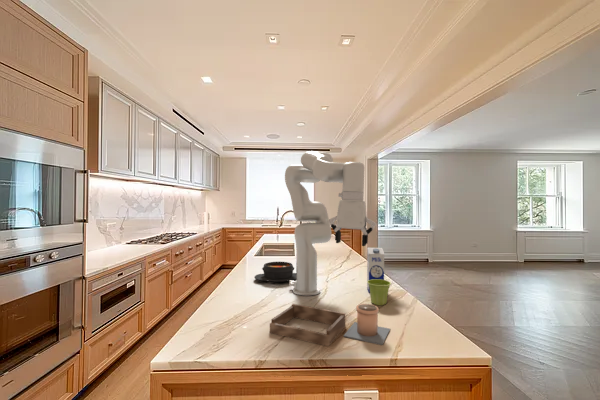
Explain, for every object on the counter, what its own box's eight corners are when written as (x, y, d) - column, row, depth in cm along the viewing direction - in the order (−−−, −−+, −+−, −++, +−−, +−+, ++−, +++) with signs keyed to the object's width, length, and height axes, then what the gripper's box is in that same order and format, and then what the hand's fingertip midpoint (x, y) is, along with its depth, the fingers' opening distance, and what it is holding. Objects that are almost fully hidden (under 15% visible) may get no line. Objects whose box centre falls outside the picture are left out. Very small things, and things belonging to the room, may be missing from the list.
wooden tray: (269, 332, 100) (269, 318, 100) (292, 315, 114) (292, 303, 114) (328, 346, 91) (328, 330, 91) (345, 326, 105) (345, 312, 105)
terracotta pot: (353, 334, 98) (353, 309, 98) (359, 325, 105) (359, 302, 105) (375, 338, 95) (376, 312, 95) (380, 329, 102) (380, 305, 102)
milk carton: (381, 289, 149) (382, 247, 149) (384, 293, 142) (384, 249, 142) (366, 288, 149) (367, 247, 149) (368, 293, 143) (368, 249, 143)
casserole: (298, 275, 176) (298, 260, 175) (304, 284, 157) (305, 267, 157) (253, 276, 171) (253, 261, 171) (254, 286, 153) (254, 269, 153)
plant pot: (391, 307, 124) (391, 286, 124) (367, 306, 125) (367, 284, 125) (389, 300, 133) (389, 279, 133) (366, 298, 135) (367, 278, 135)
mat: (343, 336, 97) (343, 335, 97) (354, 323, 108) (354, 321, 108) (382, 345, 92) (382, 343, 92) (390, 329, 103) (390, 328, 103)
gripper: (326, 196, 113) (324, 243, 113) (374, 198, 105) (372, 248, 106) (333, 195, 119) (332, 240, 120) (379, 197, 111) (377, 245, 112)
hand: (350, 244), depth 113 cm, fingers open, 9 cm apart
